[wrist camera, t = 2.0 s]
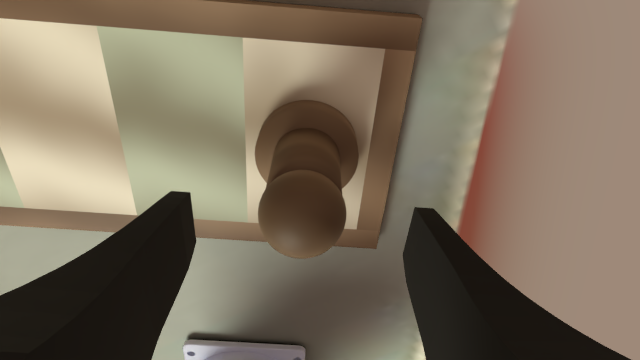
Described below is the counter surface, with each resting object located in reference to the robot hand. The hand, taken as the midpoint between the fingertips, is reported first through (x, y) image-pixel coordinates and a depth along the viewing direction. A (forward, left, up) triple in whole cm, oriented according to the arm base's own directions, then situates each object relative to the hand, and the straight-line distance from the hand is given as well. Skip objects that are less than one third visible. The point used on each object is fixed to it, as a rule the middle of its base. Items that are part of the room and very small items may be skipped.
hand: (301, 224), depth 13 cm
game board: (0, +11, -6) cm, 13 cm away
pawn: (0, 0, -6) cm, 6 cm away
